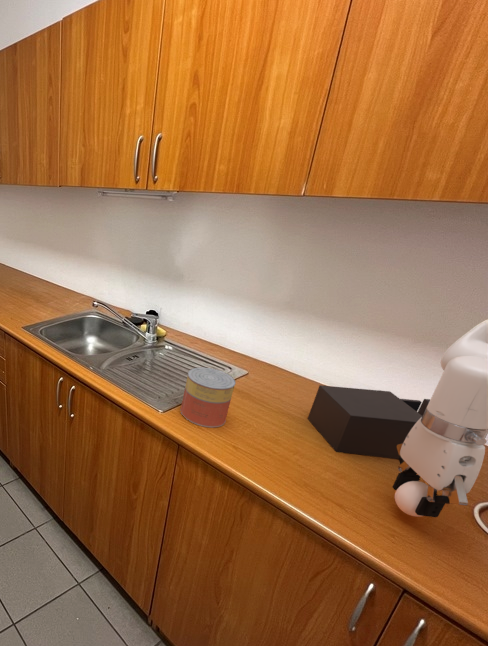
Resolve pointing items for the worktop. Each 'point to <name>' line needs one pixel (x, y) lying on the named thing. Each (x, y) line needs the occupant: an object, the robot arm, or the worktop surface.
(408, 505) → the egg
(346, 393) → the dark brown box
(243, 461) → the worktop surface
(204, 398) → the canned food
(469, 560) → the worktop surface
